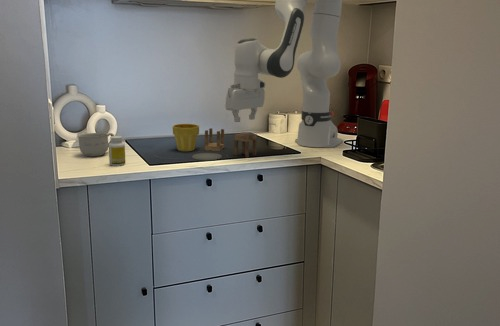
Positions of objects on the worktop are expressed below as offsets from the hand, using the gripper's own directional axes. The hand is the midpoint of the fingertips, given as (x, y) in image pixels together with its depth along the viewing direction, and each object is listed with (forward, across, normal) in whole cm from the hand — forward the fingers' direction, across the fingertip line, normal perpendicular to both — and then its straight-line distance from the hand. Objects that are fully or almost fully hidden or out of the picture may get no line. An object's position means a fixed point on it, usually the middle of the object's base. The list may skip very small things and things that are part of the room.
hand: (244, 120), depth 189 cm
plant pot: (+14, -6, +24) cm, 28 cm away
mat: (+14, -11, +9) cm, 20 cm away
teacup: (+15, -33, +44) cm, 57 cm away
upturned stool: (+14, +2, +16) cm, 21 cm away
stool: (+13, +1, 0) cm, 13 cm away
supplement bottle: (+15, -39, +26) cm, 49 cm away
